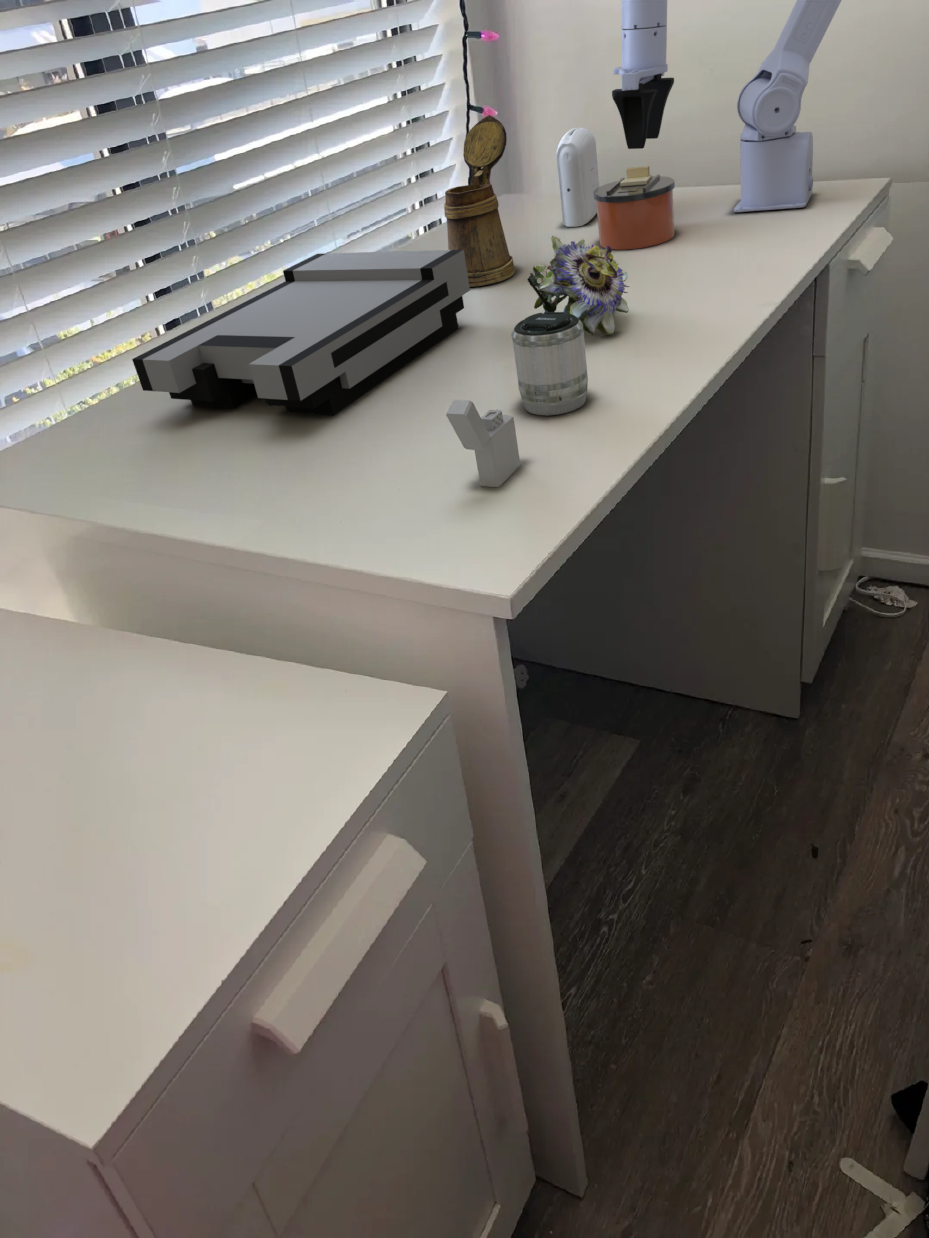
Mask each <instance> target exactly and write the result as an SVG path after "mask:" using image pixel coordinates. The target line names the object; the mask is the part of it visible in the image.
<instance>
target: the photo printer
mask: <svg viewBox="0 0 929 1238" xmlns="http://www.w3.org/2000/svg"><path fill="white" fill-rule="evenodd" d="M555 158H556V159H555V160H556V161H555V162H556V168H557V170H556V171H557V178H558V179H557V181H558V190H559V199H560V209H561V219H562V224H563V226H566V227H567V228H578V227H583V226H584V225H585V224H588V223H589V222H591V220H592V219H593V218H595V216H597V215H596V214H597V204H596V200H595V199H594V196H593V192H594V190H595V189H597V188H598V187H600V177H599V165H598V153H597V141H596V138H595V136H594V134H593V132H592V131H591V130H590V129H589V128H586V127H583V126H582V127H573V128H570V129H569V130H568V131H567V132H565V134H564V135H563V136H562V138H561V139H560V141H559V143H558V145H557V147H556V155H555Z"/></svg>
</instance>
